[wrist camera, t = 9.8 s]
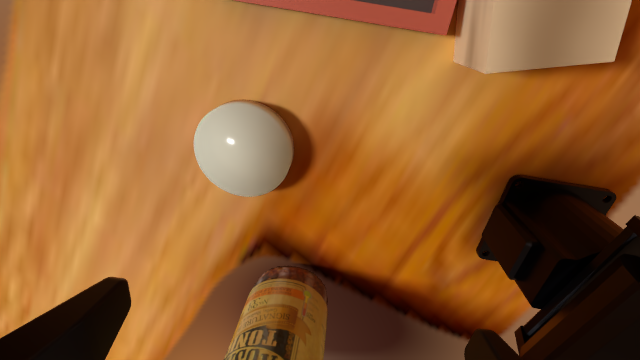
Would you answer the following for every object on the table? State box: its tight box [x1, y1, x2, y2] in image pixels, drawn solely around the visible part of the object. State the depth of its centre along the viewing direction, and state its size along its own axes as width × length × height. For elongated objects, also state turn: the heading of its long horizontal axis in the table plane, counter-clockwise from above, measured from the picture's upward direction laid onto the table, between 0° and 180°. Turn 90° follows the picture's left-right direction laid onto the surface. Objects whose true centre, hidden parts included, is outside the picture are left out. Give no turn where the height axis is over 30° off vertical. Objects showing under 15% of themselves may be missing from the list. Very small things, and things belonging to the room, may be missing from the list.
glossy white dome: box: [194, 100, 294, 197], centre depth 20 cm, size 6×6×2 cm
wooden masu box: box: [453, 0, 632, 74], centre depth 14 cm, size 5×5×4 cm
